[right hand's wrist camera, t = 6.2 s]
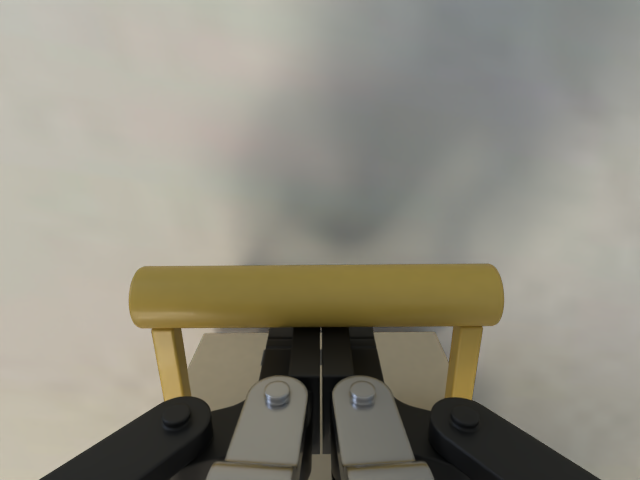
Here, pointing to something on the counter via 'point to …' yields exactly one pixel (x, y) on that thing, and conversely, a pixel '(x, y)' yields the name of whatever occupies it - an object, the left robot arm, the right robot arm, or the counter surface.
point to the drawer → (317, 324)
